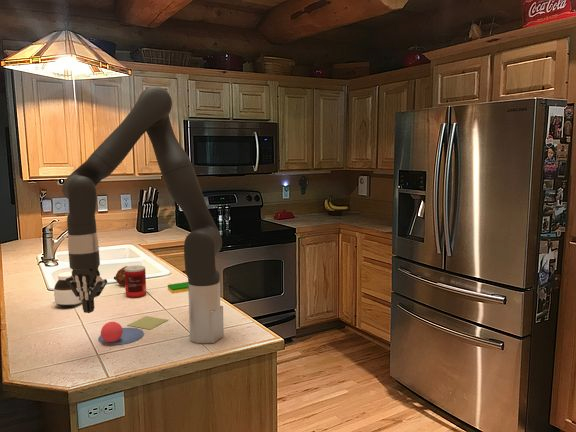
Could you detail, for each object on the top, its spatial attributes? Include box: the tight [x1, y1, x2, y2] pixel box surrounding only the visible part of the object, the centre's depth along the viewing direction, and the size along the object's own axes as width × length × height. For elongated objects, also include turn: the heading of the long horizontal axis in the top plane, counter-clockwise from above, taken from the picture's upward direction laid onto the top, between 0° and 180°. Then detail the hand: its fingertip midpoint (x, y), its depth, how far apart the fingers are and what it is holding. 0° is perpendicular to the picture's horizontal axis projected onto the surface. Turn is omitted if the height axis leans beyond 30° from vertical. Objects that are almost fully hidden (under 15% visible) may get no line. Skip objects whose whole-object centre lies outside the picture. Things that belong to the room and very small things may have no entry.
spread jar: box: [53, 271, 82, 309], centre depth 170 cm, size 12×11×12 cm
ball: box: [100, 321, 123, 343], centre depth 136 cm, size 6×6×6 cm
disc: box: [97, 327, 145, 346], centre depth 141 cm, size 13×13×1 cm
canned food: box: [124, 264, 147, 299], centre depth 180 cm, size 8×8×11 cm
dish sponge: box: [167, 281, 189, 294], centre depth 190 cm, size 7×14×2 cm, turn 120°
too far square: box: [127, 315, 169, 331], centre depth 152 cm, size 9×9×1 cm
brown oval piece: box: [113, 265, 129, 287], centre depth 195 cm, size 8×8×12 cm
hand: (88, 311), depth 127 cm, fingers closed
